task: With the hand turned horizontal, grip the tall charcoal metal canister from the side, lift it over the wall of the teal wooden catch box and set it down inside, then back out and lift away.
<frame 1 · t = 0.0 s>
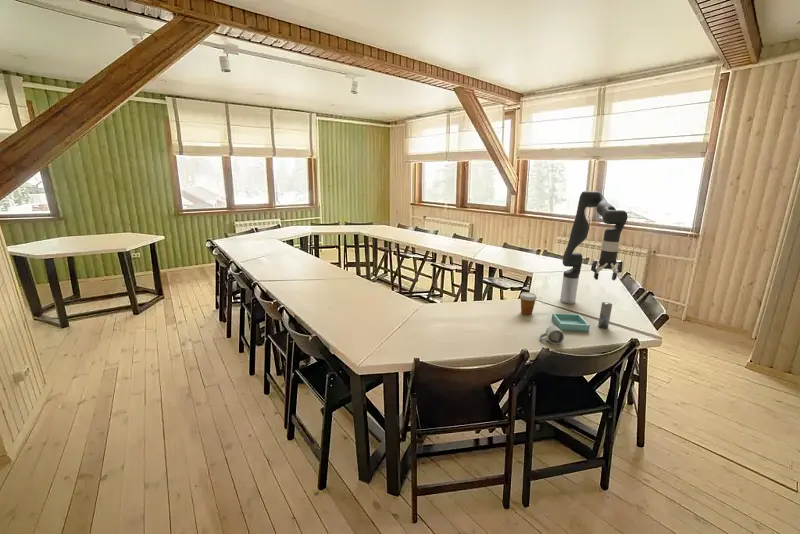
hand: (604, 279, 187), 29 cm above the table, tool pointing down, fingers open, 8 cm apart
disposable coffee cup: (526, 313, 218), on the table
ceramic mug: (550, 341, 183), on the table
charcoal metal canister: (603, 327, 199), on the table
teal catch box: (569, 325, 201), on the table
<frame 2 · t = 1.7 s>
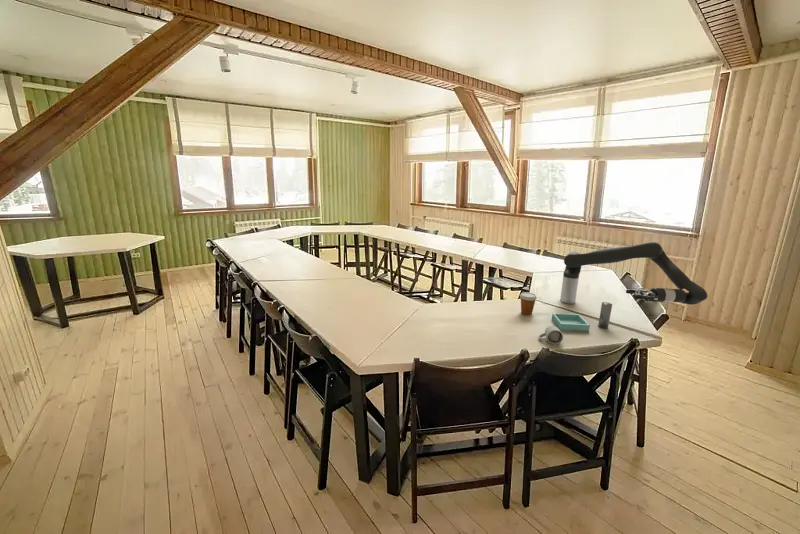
hand: (630, 294, 193), 20 cm above the table, tool horizontal, fingers open, 8 cm apart
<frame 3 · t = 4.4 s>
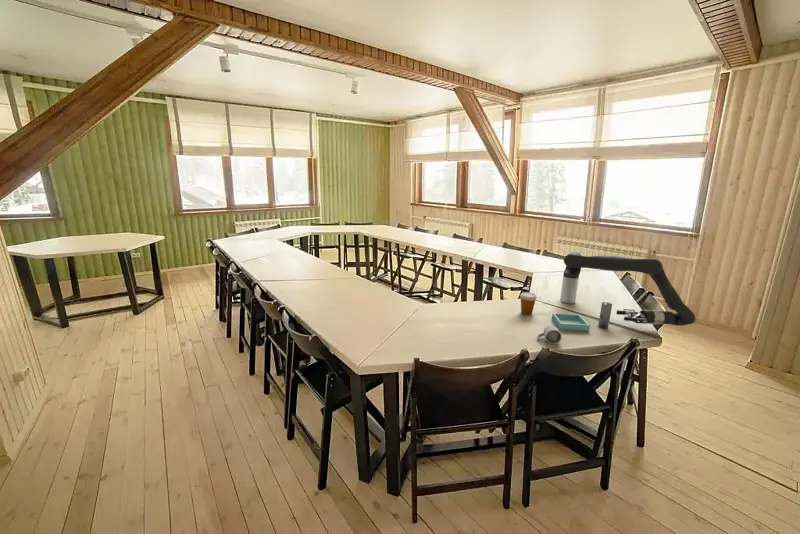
hand: (620, 315, 196), 7 cm above the table, tool horizontal, fingers open, 8 cm apart
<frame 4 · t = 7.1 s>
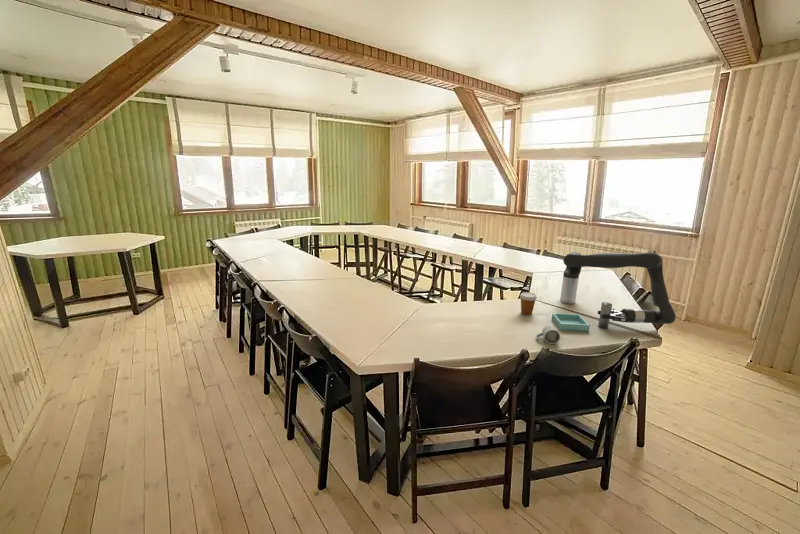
hand: (600, 314, 197), 8 cm above the table, tool horizontal, fingers closed on charcoal metal canister, 5 cm apart
charcoal metal canister: (603, 327, 199), on the table, touching gripper
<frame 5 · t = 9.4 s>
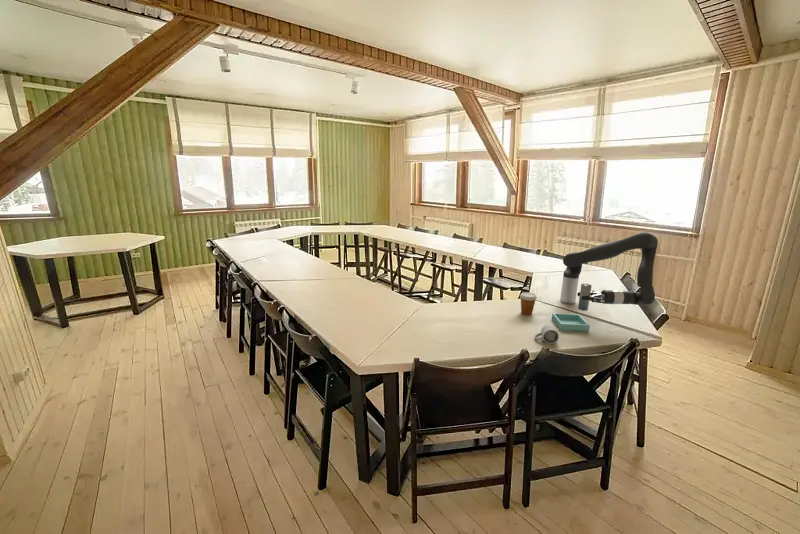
hand: (579, 296, 196), 18 cm above the table, tool horizontal, fingers closed on charcoal metal canister, 5 cm apart
charcoal metal canister: (582, 308, 198), point 10 cm above the table, touching gripper
when the fingers open (10 cm above the table, at t = 11.8 s): charcoal metal canister drops 1 cm, resting on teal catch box.
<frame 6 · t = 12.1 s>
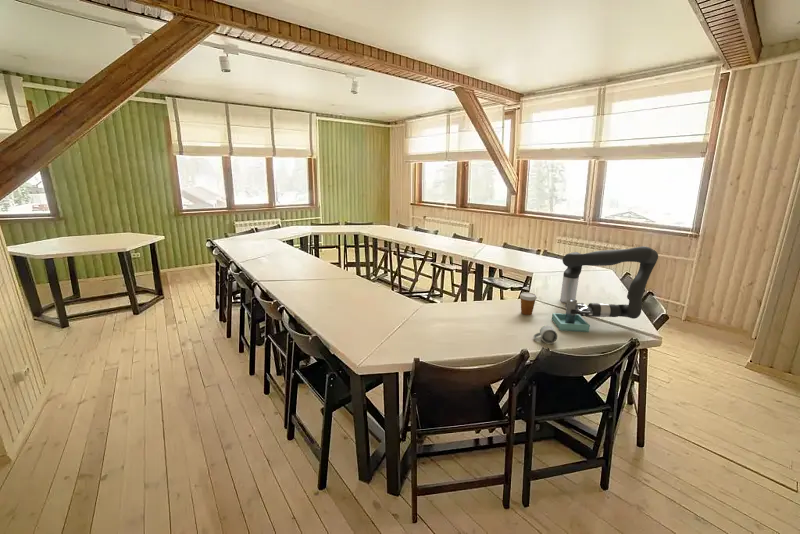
hand: (568, 308, 198), 10 cm above the table, tool horizontal, fingers open, 8 cm apart
charcoal metal canister: (569, 323, 201), point 1 cm above the table, touching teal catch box
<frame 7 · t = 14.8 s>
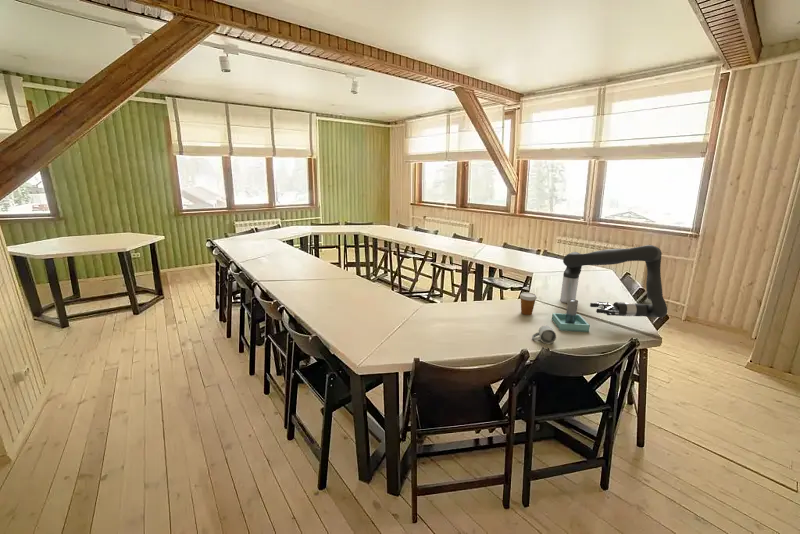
hand: (593, 307, 197), 11 cm above the table, tool horizontal, fingers open, 8 cm apart
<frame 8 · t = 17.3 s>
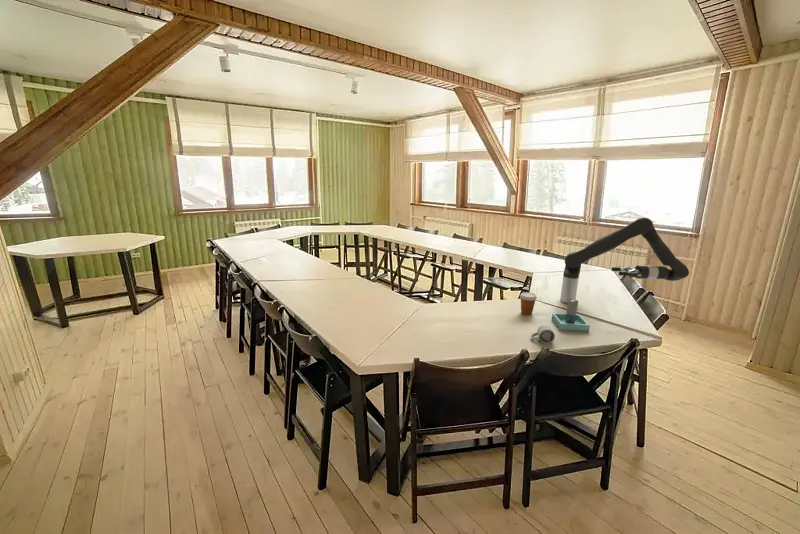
hand: (615, 271, 200), 30 cm above the table, tool horizontal, fingers open, 8 cm apart
at the end: charcoal metal canister inside the target area on the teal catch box (0.1 cm from its centre), point 1.0 cm above the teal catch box's base; charcoal metal canister tilted 0°; the gripper is holding nothing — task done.
